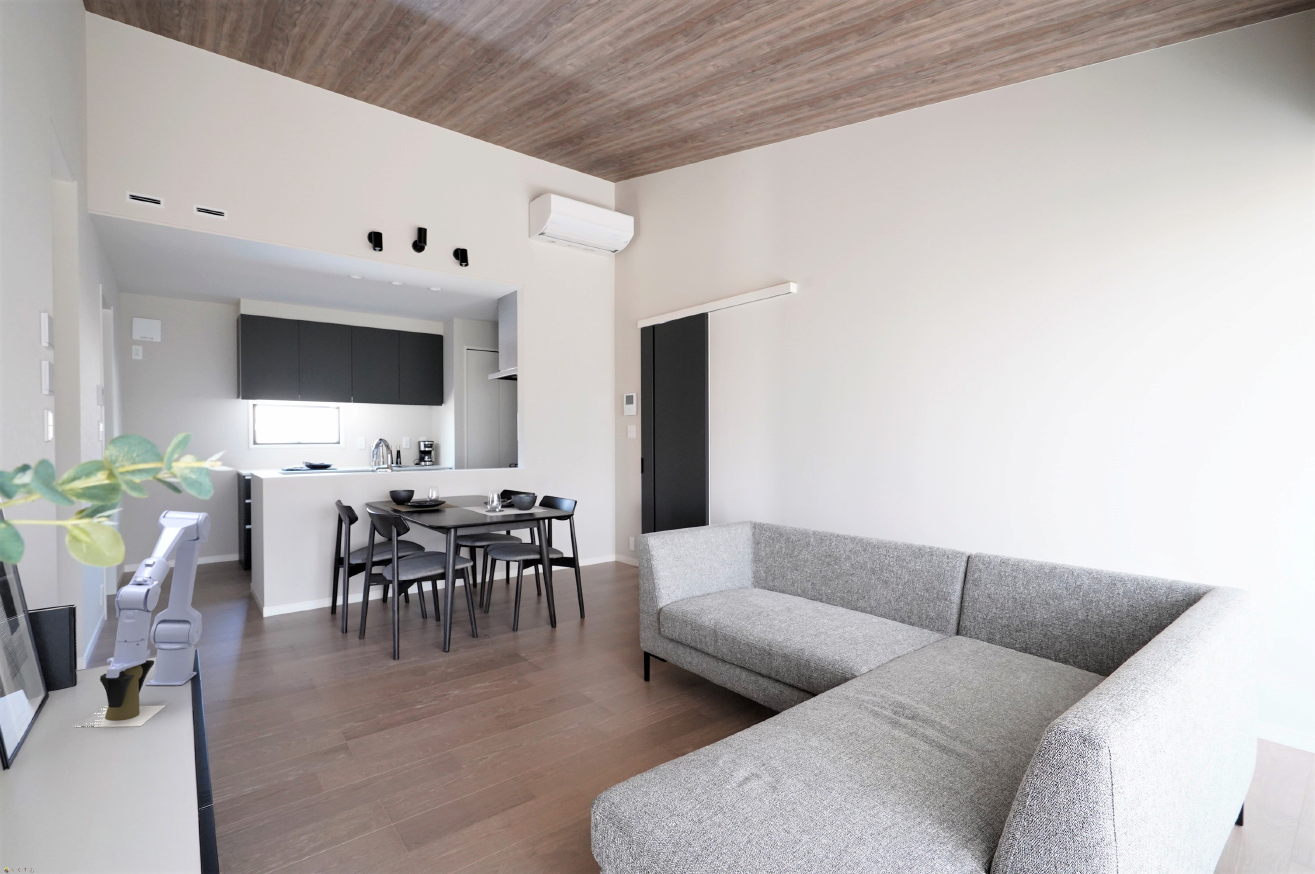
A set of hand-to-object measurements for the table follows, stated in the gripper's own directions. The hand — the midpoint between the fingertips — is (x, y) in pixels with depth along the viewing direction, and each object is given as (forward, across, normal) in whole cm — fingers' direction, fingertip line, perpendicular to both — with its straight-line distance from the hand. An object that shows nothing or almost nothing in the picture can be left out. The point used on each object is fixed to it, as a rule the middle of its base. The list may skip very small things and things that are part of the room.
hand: (124, 700), depth 146 cm
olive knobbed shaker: (+3, 0, 0) cm, 3 cm away
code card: (+3, 0, 0) cm, 3 cm away
